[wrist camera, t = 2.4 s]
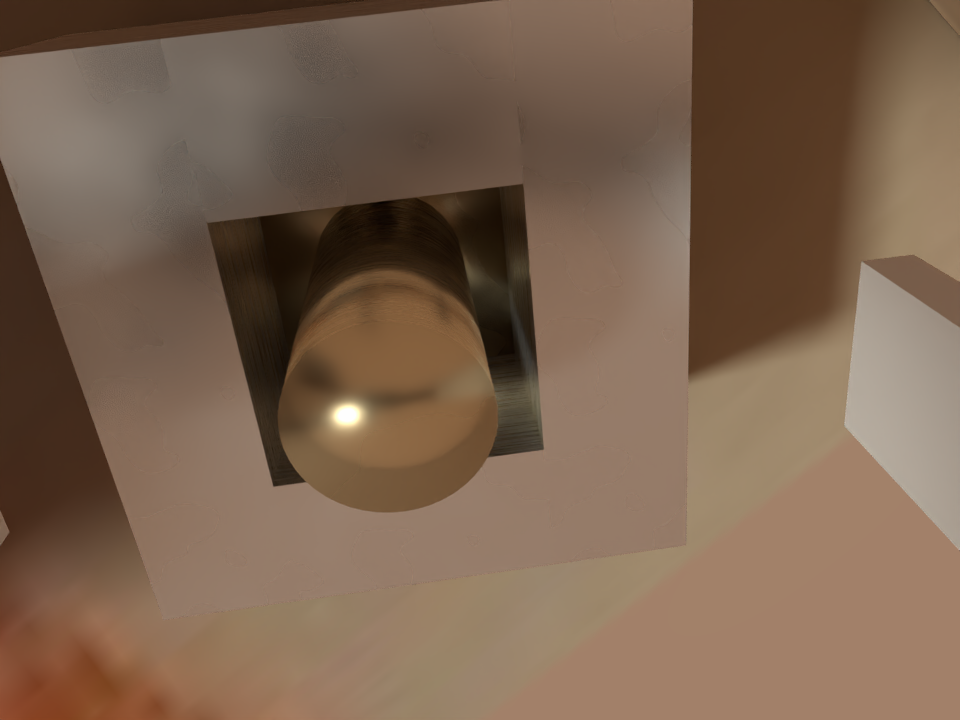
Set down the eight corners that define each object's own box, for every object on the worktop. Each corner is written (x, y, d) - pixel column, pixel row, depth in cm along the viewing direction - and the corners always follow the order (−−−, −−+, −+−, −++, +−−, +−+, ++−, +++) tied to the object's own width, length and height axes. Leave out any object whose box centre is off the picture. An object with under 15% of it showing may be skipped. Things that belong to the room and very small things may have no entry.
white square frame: (205, 495, 19) (163, 620, 16) (67, 34, 15) (-34, 60, 11) (632, 437, 20) (686, 544, 16) (622, -29, 15) (693, -23, 12)
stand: (165, 269, 18) (23, 472, 11) (352, 1, 16) (323, 40, 9) (419, 431, 21) (434, 683, 14) (609, 213, 19) (742, 375, 12)
